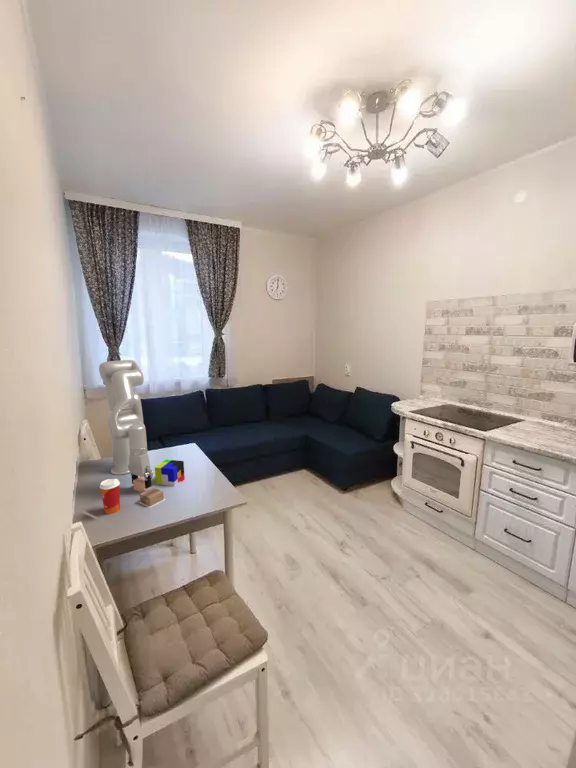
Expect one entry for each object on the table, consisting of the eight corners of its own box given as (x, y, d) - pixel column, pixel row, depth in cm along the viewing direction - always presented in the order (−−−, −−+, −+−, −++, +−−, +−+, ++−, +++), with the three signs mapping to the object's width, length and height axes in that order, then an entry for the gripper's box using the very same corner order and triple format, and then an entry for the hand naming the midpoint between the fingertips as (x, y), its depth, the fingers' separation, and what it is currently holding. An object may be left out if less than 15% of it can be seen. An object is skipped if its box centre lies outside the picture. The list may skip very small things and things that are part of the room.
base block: (140, 502, 155) (139, 493, 154) (153, 495, 161) (152, 487, 160) (150, 506, 152) (149, 498, 151) (163, 499, 157) (163, 491, 157)
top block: (134, 491, 167) (133, 480, 166) (143, 487, 171) (142, 476, 170) (140, 494, 164) (139, 482, 163) (149, 490, 169) (148, 478, 168)
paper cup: (107, 508, 152) (103, 478, 150) (125, 507, 153) (122, 477, 150) (99, 518, 145) (95, 486, 142) (118, 517, 145) (115, 486, 143)
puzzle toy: (174, 488, 170) (173, 469, 169) (156, 486, 172) (154, 467, 171) (184, 479, 180) (183, 461, 178) (167, 477, 182) (165, 459, 180)
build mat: (128, 502, 157) (128, 499, 157) (150, 491, 168) (150, 489, 167) (151, 511, 149) (151, 509, 149) (173, 499, 159) (173, 497, 159)
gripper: (120, 450, 165) (123, 484, 168) (143, 456, 156) (146, 492, 159) (134, 445, 172) (137, 478, 174) (157, 451, 163) (160, 486, 166)
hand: (141, 485), depth 167 cm, fingers open, 9 cm apart
